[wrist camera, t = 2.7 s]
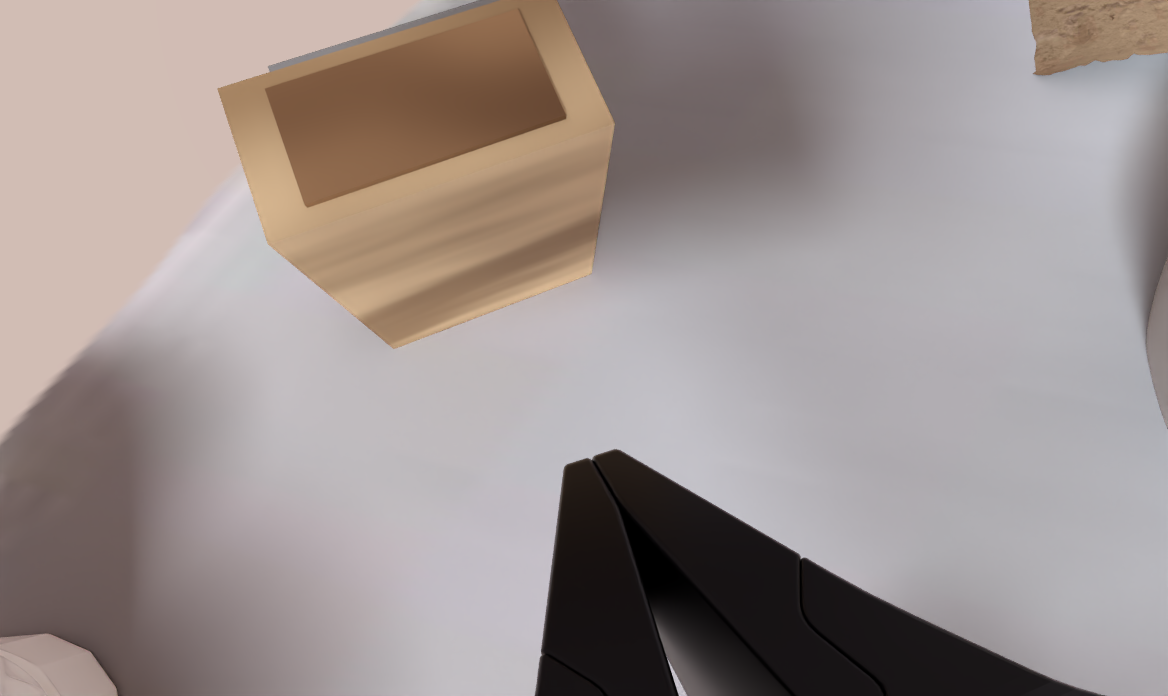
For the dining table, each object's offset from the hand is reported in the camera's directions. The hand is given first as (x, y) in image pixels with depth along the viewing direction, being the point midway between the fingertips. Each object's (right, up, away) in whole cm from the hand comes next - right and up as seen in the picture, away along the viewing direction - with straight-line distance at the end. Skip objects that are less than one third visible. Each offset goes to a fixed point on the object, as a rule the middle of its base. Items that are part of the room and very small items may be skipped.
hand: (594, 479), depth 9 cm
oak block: (-4, +5, +14) cm, 16 cm away
